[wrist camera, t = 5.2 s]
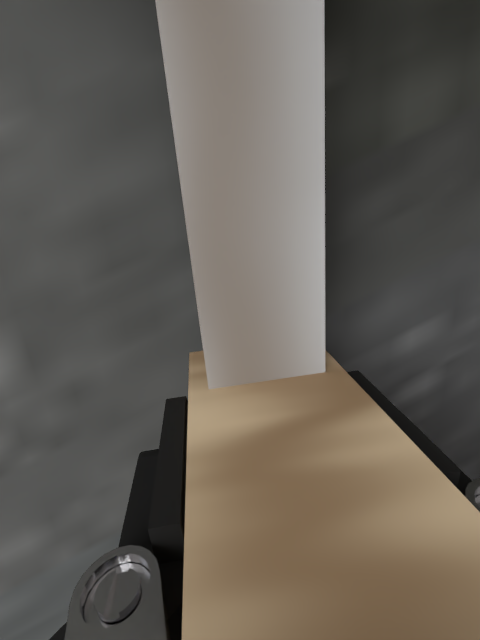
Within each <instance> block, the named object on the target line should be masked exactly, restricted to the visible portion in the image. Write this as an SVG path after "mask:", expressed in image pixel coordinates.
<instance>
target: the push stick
mask: <svg viewBox="0 0 480 640" xmlns="http://www.w3.org/2000/svg"><path fill="white" fill-rule="evenodd" d="M155 2H156V10H157V17H158V24H159V31H160V39H161V46H162V53H163V61H164V68H165V75H166V82H167V90H168V97H169V104H170V112H171V119H172V126H173V133H174V141H175V148H176V155H177V163H178V170H179V177H180V184H181V192H182V199H183V206H184V213H185V221H186V228H187V235H188V243H189V250H190V257H191V264H192V272H193V279H194V286H195V294H196V301H197V308H198V315H199V323H200V330H201V337H202V345H203V351H197V352H190V353H189V388H188V424H187V460H186V497H185V533H184V569H183V605H182V640H480V512H479V511H478V510H477V509H476V508H475V507H474V506H473V505H472V504H471V502H470V501H469V500H468V499H467V498H466V497H465V496H464V495H463V494H462V493H461V492H460V491H459V490H458V489H457V488H456V487H455V486H454V485H453V484H452V482H451V481H450V480H449V479H448V478H447V477H446V476H445V475H444V474H443V473H442V472H441V471H440V470H439V469H438V468H437V467H436V466H435V465H434V464H433V462H432V461H431V460H430V459H429V458H428V457H427V456H426V455H425V454H424V453H423V452H422V451H421V450H420V449H419V448H418V447H417V446H416V445H415V444H414V442H413V441H412V440H411V439H410V438H409V437H408V436H407V435H406V434H405V433H404V432H403V431H402V430H401V429H400V428H399V427H398V426H397V425H396V424H395V422H394V421H393V420H392V419H391V418H390V417H389V416H388V415H387V414H386V413H385V412H384V411H383V410H382V409H381V408H380V407H379V406H378V405H377V404H376V402H375V401H374V400H373V399H372V398H371V397H370V396H369V395H368V394H367V393H366V392H365V391H364V390H363V389H362V388H361V387H360V386H359V385H358V384H357V382H356V381H355V380H354V379H353V378H352V377H351V376H350V375H349V374H348V373H347V372H346V371H345V370H344V369H343V368H342V367H341V366H340V365H339V364H338V362H337V361H336V360H335V359H334V358H333V357H332V356H331V355H330V354H329V353H328V352H327V351H326V350H325V48H324V0H155Z"/></svg>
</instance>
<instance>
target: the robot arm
mask: <svg viewBox="0 0 480 640" xmlns="http://www.w3.org/2000/svg"><path fill="white" fill-rule="evenodd" d="M347 373H348V374H349V375H350V376H351V377H352V378H353V379H354V380H355V381H356V382H357V384H358V385H359V386H360V387H361V388H362V389H363V390H364V391H365V392H366V393H367V394H368V395H369V396H370V397H371V398H372V399H373V400H374V401H375V402H376V404H377V405H378V406H379V407H380V408H381V409H382V410H383V411H384V412H385V413H386V414H387V415H388V416H389V417H390V418H391V419H392V420H393V421H394V422H395V424H396V425H397V426H398V427H399V428H400V429H401V430H402V431H403V432H404V433H405V434H406V435H407V436H408V437H409V438H410V439H411V440H412V441H413V442H414V444H415V445H416V446H417V447H418V448H419V449H420V450H421V451H422V452H423V453H424V454H425V455H426V456H427V457H428V458H429V459H430V460H431V461H432V462H433V464H434V465H435V466H436V467H437V468H438V469H439V470H440V471H441V472H442V473H443V474H444V475H445V476H446V477H447V478H448V479H449V480H450V481H451V482H452V484H453V485H454V486H455V487H456V488H457V489H458V490H459V491H460V492H461V493H462V494H463V495H464V496H465V497H466V498H467V499H468V500H469V501H470V502H471V504H472V505H473V506H474V507H475V508H476V509H477V510H478V511H479V512H480V478H479V479H475V480H473V481H471V480H470V479H469V478H468V477H467V476H466V475H465V474H464V473H463V472H462V471H461V470H460V469H459V468H458V467H457V466H456V465H455V464H454V463H453V462H452V461H451V460H450V459H449V458H448V457H447V456H446V455H445V454H444V453H443V452H442V451H441V450H440V449H439V448H438V447H437V446H436V445H435V444H433V443H432V442H431V441H430V440H429V439H428V438H427V437H426V436H425V435H424V434H423V433H422V432H421V431H420V430H419V429H418V428H417V427H416V426H415V425H414V424H413V423H412V422H411V421H410V420H409V419H408V418H407V417H406V416H405V415H404V414H402V413H401V412H400V411H399V410H398V409H397V408H396V407H395V406H394V405H393V404H392V403H391V402H390V401H389V400H388V399H387V398H386V397H385V396H384V395H383V394H382V393H381V392H380V391H379V390H378V389H377V388H376V387H374V386H373V385H372V384H371V383H370V382H369V381H368V380H367V379H366V378H365V377H364V376H363V375H362V374H361V373H360V372H359V371H352V372H347ZM187 424H188V401H187V398H186V396H184V397H177V398H171V399H166V404H165V411H164V418H163V425H162V432H161V439H160V446H159V449H156V450H150V451H144V452H141V453H140V454H139V457H138V461H137V466H136V470H135V475H134V479H133V484H132V488H131V493H130V497H129V502H128V506H127V511H126V516H125V520H124V525H123V529H122V534H121V538H120V543H119V547H118V548H116V549H114V550H112V551H110V552H108V553H106V554H104V555H103V556H101V557H100V558H99V559H98V560H96V561H95V562H94V563H93V564H92V565H91V566H90V567H89V568H88V569H87V570H86V572H85V573H84V574H83V575H82V576H81V578H80V580H79V582H78V584H77V585H76V587H75V589H74V591H73V595H72V598H71V602H70V605H69V612H68V619H67V622H66V623H65V624H64V625H63V626H62V627H61V628H60V629H59V630H58V631H57V632H56V633H55V634H54V635H53V636H52V637H51V638H50V639H49V640H182V605H183V569H184V533H185V497H186V460H187Z"/></svg>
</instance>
